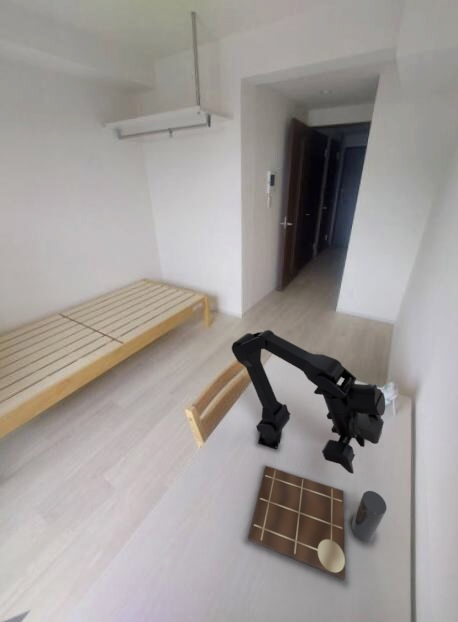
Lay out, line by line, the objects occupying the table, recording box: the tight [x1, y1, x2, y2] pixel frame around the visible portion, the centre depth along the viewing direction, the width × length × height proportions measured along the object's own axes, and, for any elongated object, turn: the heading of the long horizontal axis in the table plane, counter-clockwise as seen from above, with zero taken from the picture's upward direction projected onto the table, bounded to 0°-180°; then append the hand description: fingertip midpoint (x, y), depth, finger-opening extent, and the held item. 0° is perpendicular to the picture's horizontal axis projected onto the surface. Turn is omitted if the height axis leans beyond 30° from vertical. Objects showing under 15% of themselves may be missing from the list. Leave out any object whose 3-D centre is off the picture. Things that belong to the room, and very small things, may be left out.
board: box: [248, 465, 346, 581], centre depth 71 cm, size 22×19×2 cm
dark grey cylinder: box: [350, 490, 388, 543], centre depth 65 cm, size 5×5×13 cm
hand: (357, 458), depth 70 cm, fingers open, 9 cm apart
